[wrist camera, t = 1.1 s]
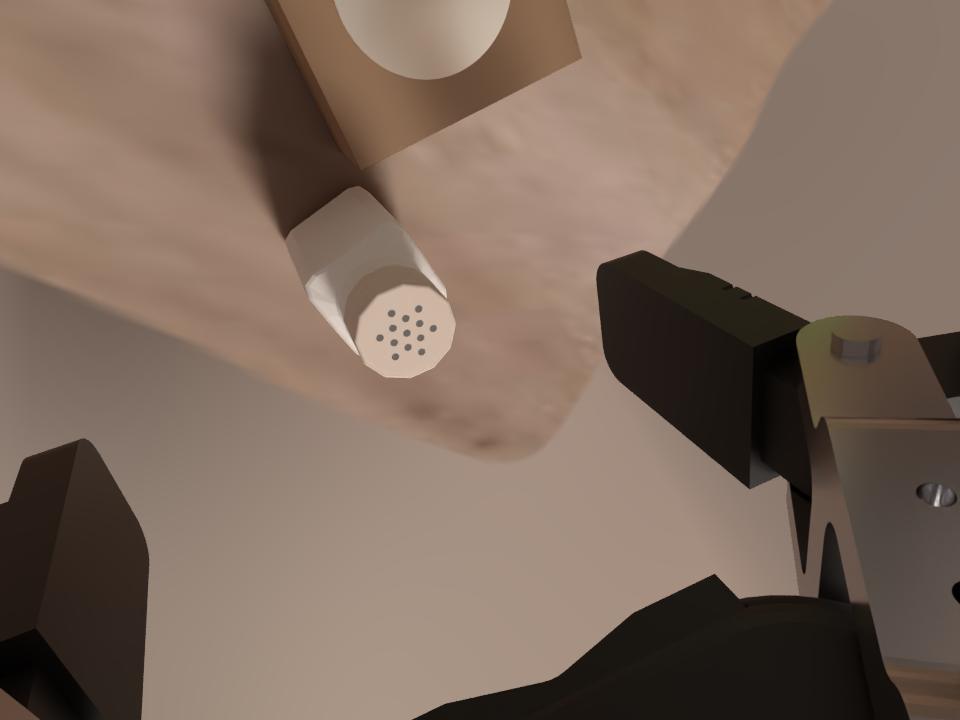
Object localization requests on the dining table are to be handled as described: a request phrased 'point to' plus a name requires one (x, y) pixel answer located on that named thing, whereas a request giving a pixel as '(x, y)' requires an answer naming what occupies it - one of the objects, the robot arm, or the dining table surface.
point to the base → (418, 62)
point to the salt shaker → (373, 285)
